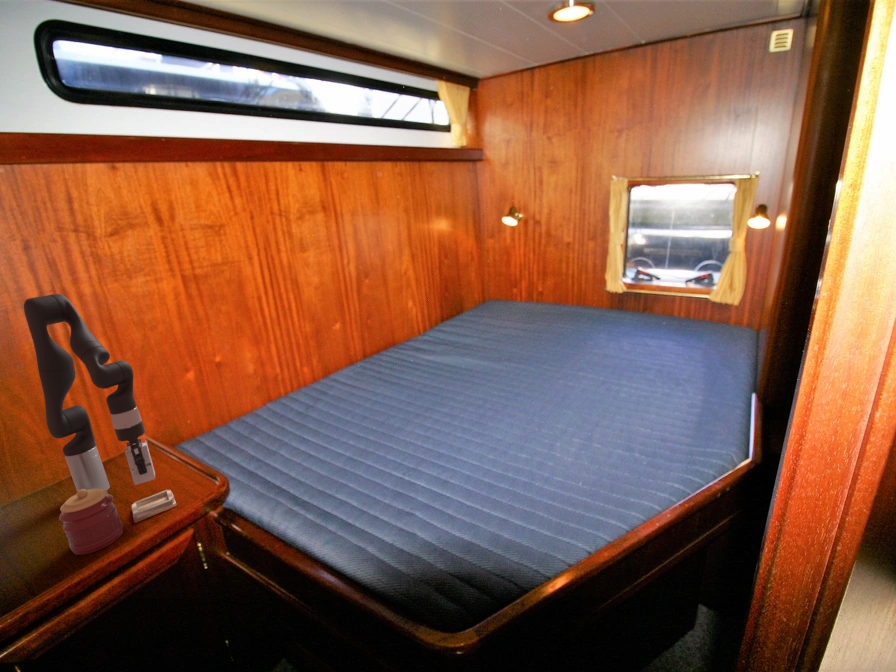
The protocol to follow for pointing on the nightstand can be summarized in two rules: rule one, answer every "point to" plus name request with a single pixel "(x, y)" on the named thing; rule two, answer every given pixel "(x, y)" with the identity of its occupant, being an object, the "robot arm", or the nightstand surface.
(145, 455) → the skincare box
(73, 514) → the canister
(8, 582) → the nightstand surface
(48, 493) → the nightstand surface
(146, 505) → the white shallow tray
